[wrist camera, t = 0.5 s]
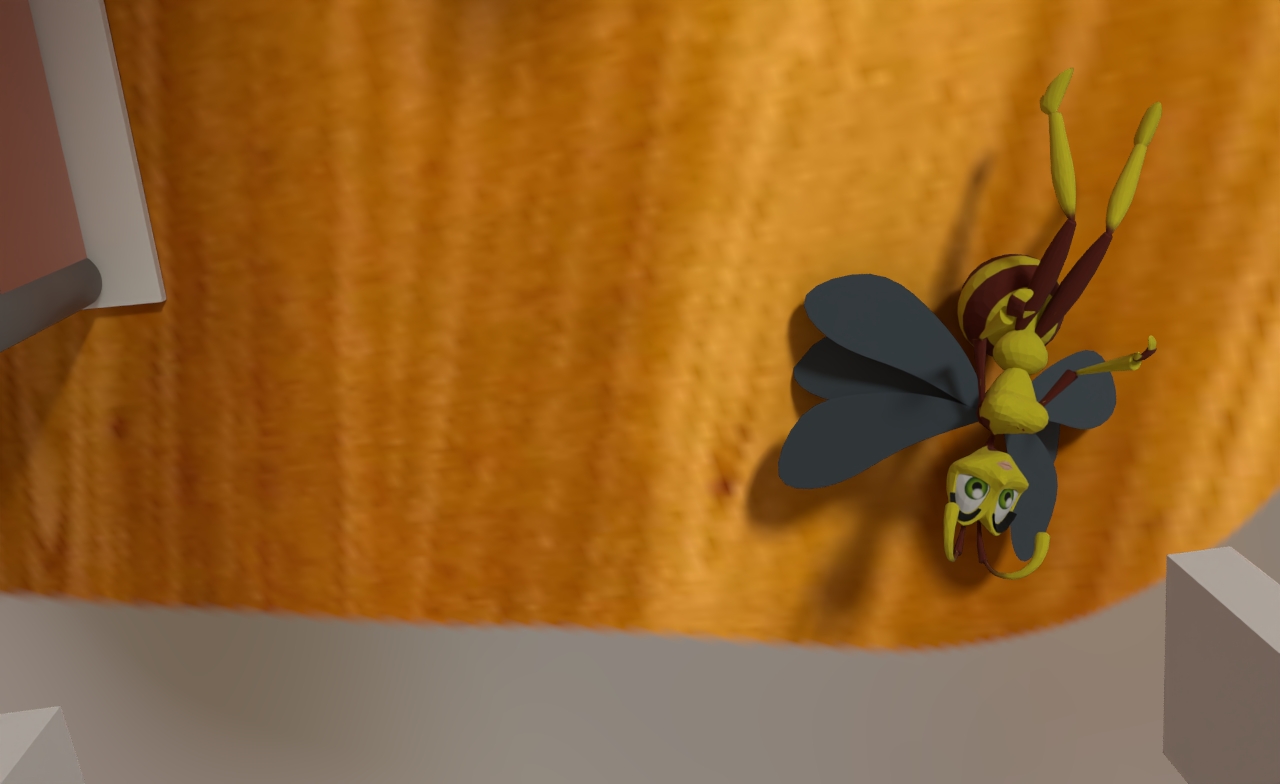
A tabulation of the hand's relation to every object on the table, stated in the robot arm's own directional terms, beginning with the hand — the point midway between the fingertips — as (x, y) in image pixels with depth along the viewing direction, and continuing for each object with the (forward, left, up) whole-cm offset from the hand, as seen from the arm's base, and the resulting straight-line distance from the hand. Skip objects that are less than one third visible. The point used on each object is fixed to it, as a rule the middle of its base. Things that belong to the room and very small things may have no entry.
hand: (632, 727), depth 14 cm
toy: (+1, +13, -26) cm, 29 cm away
